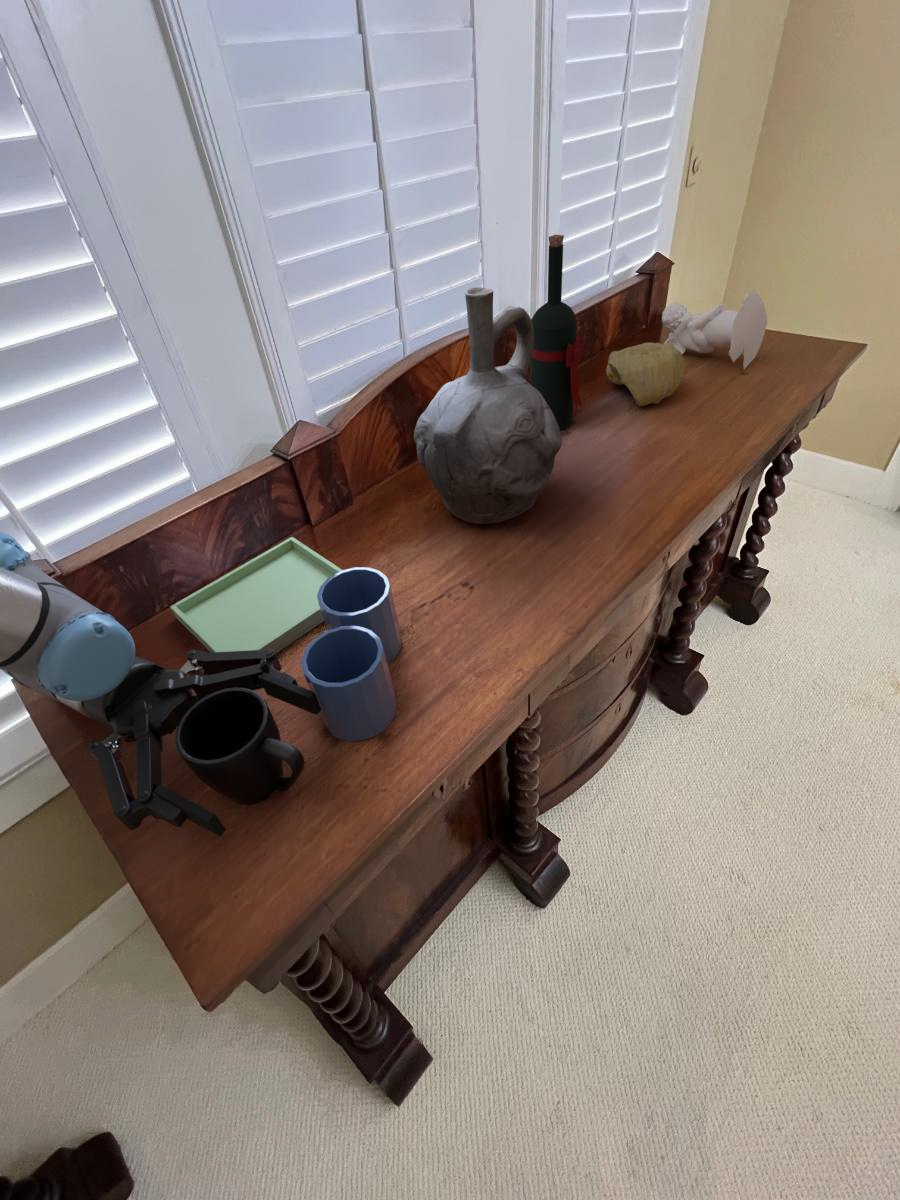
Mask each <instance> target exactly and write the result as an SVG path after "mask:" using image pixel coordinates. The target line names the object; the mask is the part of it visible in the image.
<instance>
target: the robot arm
mask: <svg viewBox="0 0 900 1200" xmlns="http://www.w3.org/2000/svg"><path fill="white" fill-rule="evenodd" d="M185 657H186V659H187V661H186V662H185V663H184V664H183V665H182V666H181V668H180V669H172V670H171V669H167V668H166V667H164V666H161V665H160V664H157V663H156V662H153V661H151V660H149V659H146V658H144V657H141V656H139V655H136V643H135V642H134V639H133V637H132V635H131V633H130V632H129V631H128V630H127V628H125V627H124V626H123V625H122V624H121V623H119V621H117V620H116V618H115V617H114V616H113V615H111V614H110V613H107V612H106V613H105V612H103V611H102V610H100V609H99V608H97V607H96V606H94V605H93V604H91V603H90V602H88V601H86V600H85V599H83V598H82V597H80V596H79V595H77V594H76V593H74V592H73V591H72V590H70V589H69V588H68V587H66V586H65V585H63V584H61V582H58V580H56V579H54V578H53V577H51V576H50V575H48V574H47V573H45V572H43V571H42V570H41V569H40V568H39V567H38V566H37V564H36V563H35V562H34V561H33V558H31V554H30V553H29V552H28V551H27V550H25V549H24V548H23V546H22V545H21V544H20V543H19V542H18V541H17V540H16V538H15V537H14V536H13V535H11V534H9V533H6V532H1V531H0V670H1V671H2V672H4V674H6V675H8V676H9V677H11V678H12V679H13V681H14V682H16V683H17V684H19V685H21V686H22V687H23V686H24V687H27V688H28V689H31V690H33V691H36V692H38V693H40V694H42V695H44V696H46V697H47V698H50V699H52V700H53V701H56V702H58V703H60V704H61V705H64V706H66V707H68V708H70V709H72V710H74V711H76V712H77V713H80V714H81V715H83V716H85V717H87V718H89V719H91V720H93V721H94V722H96V723H98V724H99V725H102V726H103V727H106V728H108V729H110V730H112V731H113V732H112V733H111V734H110V735H108V736H107V737H106V738H105V739H104V740H102V741H100V740H99V739H94V740H92V741H90V742H89V743H88V744H87V746H86V751H87V752H89V754H90V755H91V756H92V757H93V758H94V759H95V760H96V761H97V762H98V766H99V768H100V771H101V775H102V779H103V782H104V784H105V788H106V792H107V794H108V798H109V802H110V804H111V808H112V811H113V814H114V816H115V817H116V818H117V819H118V820H119V822H121V823H122V824H123V825H124V826H125V827H126V828H127V829H128V830H130V831H132V830H134V831H135V830H137V829H138V828H139V827H140V826H141V824H142V822H143V820H145V819H146V818H147V817H150V816H151V817H152V818H153V819H155V820H161V821H164V822H165V823H167V824H169V825H170V826H172V827H174V828H181V827H182V826H183V825H184V824H185V823H186V821H187V820H189V821H191V822H193V823H194V824H196V825H198V826H199V827H201V828H203V829H205V830H207V831H208V832H211V834H214V835H216V836H217V837H219V838H221V837H222V836H223V835H224V833H225V832H226V831H227V828H226V827H225V826H224V823H222V822H221V820H220V819H219V817H218V816H217V815H216V813H214V812H212V811H211V810H209V809H207V808H205V807H204V806H201V805H199V804H197V803H195V802H194V801H192V800H190V799H189V798H187V797H185V796H183V795H181V794H180V793H177V792H176V791H173V790H172V789H170V788H169V787H166V786H165V785H163V774H162V773H163V771H162V752H163V750H164V749H163V748H164V746H163V744H164V743H163V737H164V736H166V735H168V734H169V735H172V733H174V731H175V730H177V728H178V725H179V723H180V721H181V719H182V717H183V716H184V715H185V714H186V712H187V711H188V710H189V709H190V708H191V707H192V706H193V705H194V704H196V703H197V702H198V701H200V700H201V699H203V698H204V697H206V696H208V695H210V694H212V693H214V692H217V691H220V690H223V689H228V688H246V689H250V690H253V691H256V690H257V691H258V690H262V689H264V691H265V693H266V695H267V696H270V697H273V698H274V699H277V700H279V701H282V702H285V703H287V704H289V705H292V706H294V707H296V708H299V709H301V710H304V711H306V712H308V713H310V714H314V715H316V716H318V714H320V713H319V712H320V711H321V707H320V704H319V702H318V699H317V697H316V694H315V692H312V691H310V689H307V688H306V687H303V686H300V685H299V684H298V682H297V679H296V678H295V677H294V676H293V675H291V674H288V673H285V672H283V671H281V670H282V665H281V662H280V660H279V658H278V655H277V653H275V651H274V650H273V649H267V650H248V651H230V652H207V651H203V650H198V649H194V648H192V649H190V650H188V651H187V652H186V654H185ZM193 691H194V693H195V695H194V694H193ZM124 743H128V744H129V743H136V744H135V745H136V746H135V747H136V748H135V750H136V751H135V752H136V753H135V754H136V757H135V758H136V762H135V765H136V767H135V768H136V771H135V773H136V776H135V777H136V778H135V779H136V786H135V787H136V796H135V794H134V793H133V790H132V788H131V783H130V781H129V778H128V775H127V772H126V769H125V767H124V765H123V763H122V762H121V761H120V760H121V759H122V758H123V755H122V754H123V749H122V745H123V744H124Z"/></svg>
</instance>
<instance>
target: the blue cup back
mask: <svg viewBox="0 0 900 1200" xmlns="http://www.w3.org/2000/svg"><path fill="white" fill-rule="evenodd" d="M317 598H318V603H319V607H320V609H321V612H322V615H323V618H324V621H323V622H324V625H325V627H326V631H328V630H331V629H334V628H337V627H341V626H360V627H363V628H366V629H370V630H371V631H372V632H373V633H375V634H376V635H377V636H378V637H379V638H380V640H381V643H382V646H383V649H384V653H385V657H386V661H387V665H389V663H391V662H392V661H393V660H394V659H395V658H396V657H397V655H398V654H399V652H400V650H401V648H402V634H401V629H400V625H399V619H398V615H397V610H396V605H395V600H394V595H393V592H392V587H391V583H390V581H389V578H388V576H387V575H385V574H384V573H383V572H381V571H380V570H379V569H376V568H372V567H369V566H363V567H362V566H359V567H355V566H354V567H351V568H347V569H342V571H340V572H338V573H336V574H334V575H332V576H331V577H329V578H328V579H327V580H326V581H325V582H324V583H323V584H322V585H321V586H320V589H319V592H318V594H317Z"/></svg>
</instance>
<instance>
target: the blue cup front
mask: <svg viewBox="0 0 900 1200" xmlns="http://www.w3.org/2000/svg"><path fill="white" fill-rule="evenodd" d="M300 664H301V669H302V673H303V676H304V679H305V680H306V683H307V686H308V688H309V690H310V691H312V692H315V694H316V697H317V699H318V702H319V704H320V707H321V711H320V712H319V713H318V714H319V715H320V719H321V721H322V723H323V725H324V726H325V728H326V730H327V731H328V732H329V733H330V734H331V735H332V736H334V737H335V738H336V739H339V740H342V741H346V742H361V741H366V740H369V739H371V738H373V737H376V736H377V735H379V734H381V733H382V732H383V731H384V730H386V729H387V727H388V726H389V725H390V724H391V723H392V721H393V719H394V718H395V715H396V711H397V698H396V695H395V694H396V693H395V690H394V685H393V682H392V677H391V673H390V669H389V666H388V665H389V664H387V661H386V657H385V653H384V649H383V646H382V643H381V640H380V638H379V637H378V636H377V635H376V634H375V633H373V632H372V631H371V630H370V629H366V628H363V627H360V626H341V627H337V628H334V629H331V630H325V631H324V632H322V633H321V634H319V635H318V636H316V637H314V638H313V639H312V640H311V641H310V642H309V644H308V645H307V647H305V649H304V652H303V654H302V657H301V660H300Z"/></svg>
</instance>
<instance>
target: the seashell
mask: <svg viewBox="0 0 900 1200" xmlns="http://www.w3.org/2000/svg"><path fill="white" fill-rule="evenodd" d="M684 371H685V359H684V356H683V354H681V352H680V351H679V350H678V349H676V348H675V347H674V346H673V345H672V344H670V343H668V344H664V343H660V342H643V343H640V344H637V345H633V346H628V347H626V348H623V349H621V350H613V351H611V352H610V354H609V355H608V360H607V366H606V369H605V373H606V377H607V379H608V381H609V382H610V383H612V384H616V385H624V386H626V388H627V389H628V391H629V392H630V394H631V395H632V398H633V400H634V401H635V404H636V406H637V407H641V406H642V407H645V406H647V405H649V404H659V403H660V402H661V401H662V400H663V399H665V398H668V397H670V396H671V395H672V394H673V393H674V392H675V390H676V389H677V388H678V387H679V386H680V383H681V381H682V379H683V376H684Z"/></svg>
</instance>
